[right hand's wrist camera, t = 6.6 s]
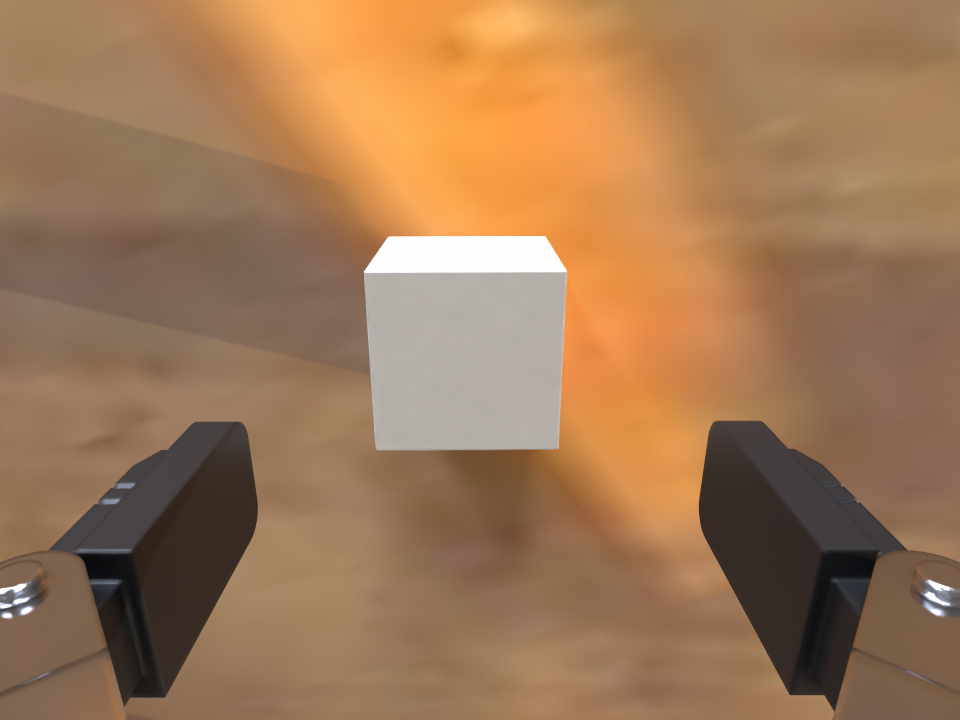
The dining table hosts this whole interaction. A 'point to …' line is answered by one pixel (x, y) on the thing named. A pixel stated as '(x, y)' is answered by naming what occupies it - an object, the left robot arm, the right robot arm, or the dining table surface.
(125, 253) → the dining table surface
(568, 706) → the dining table surface
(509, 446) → the block
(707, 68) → the dining table surface
